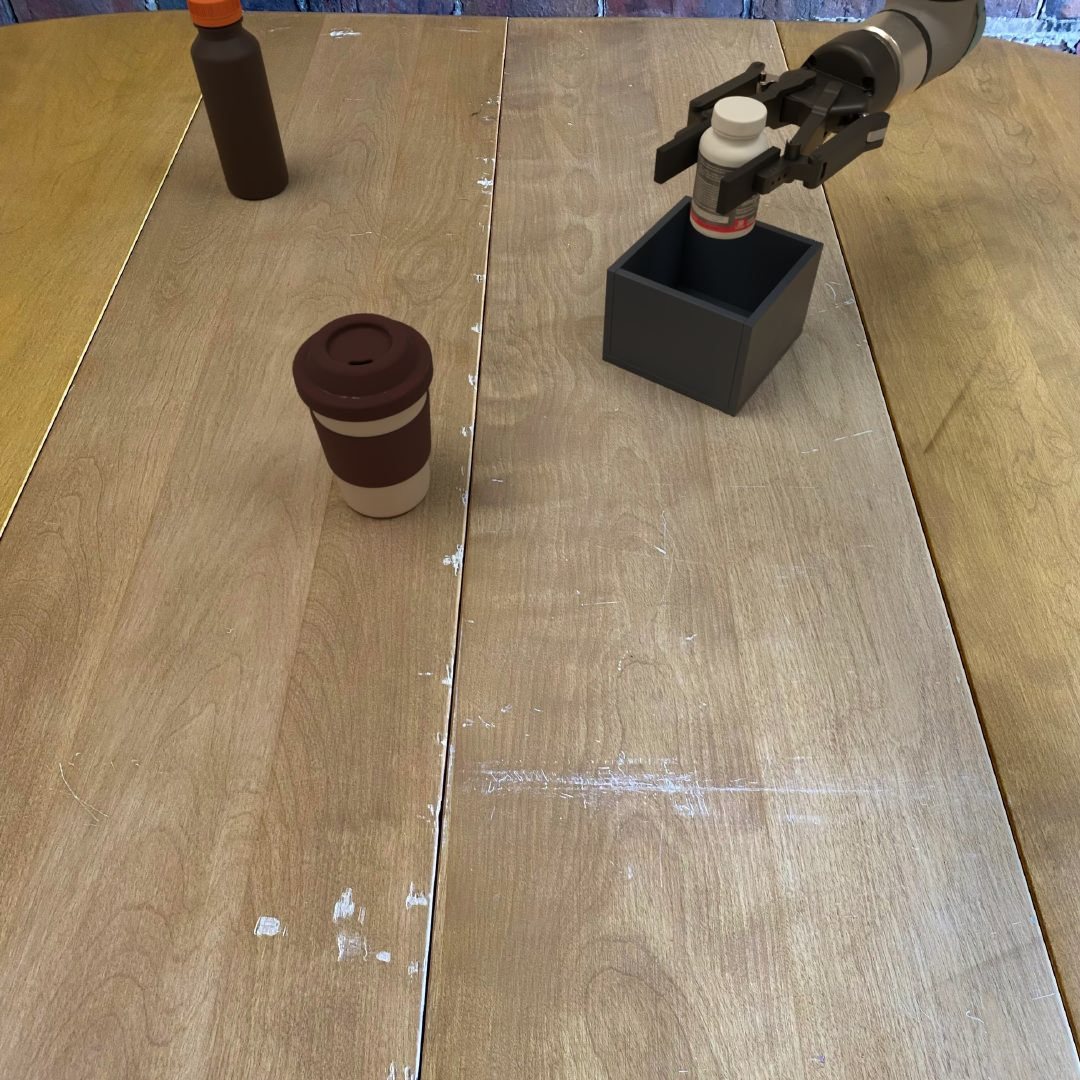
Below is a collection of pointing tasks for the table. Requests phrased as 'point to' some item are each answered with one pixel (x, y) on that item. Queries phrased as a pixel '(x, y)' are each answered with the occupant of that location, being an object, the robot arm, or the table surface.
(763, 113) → the pill bottle
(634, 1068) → the table surface
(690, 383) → the waste bin
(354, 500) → the coffee cup
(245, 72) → the brown water bottle
